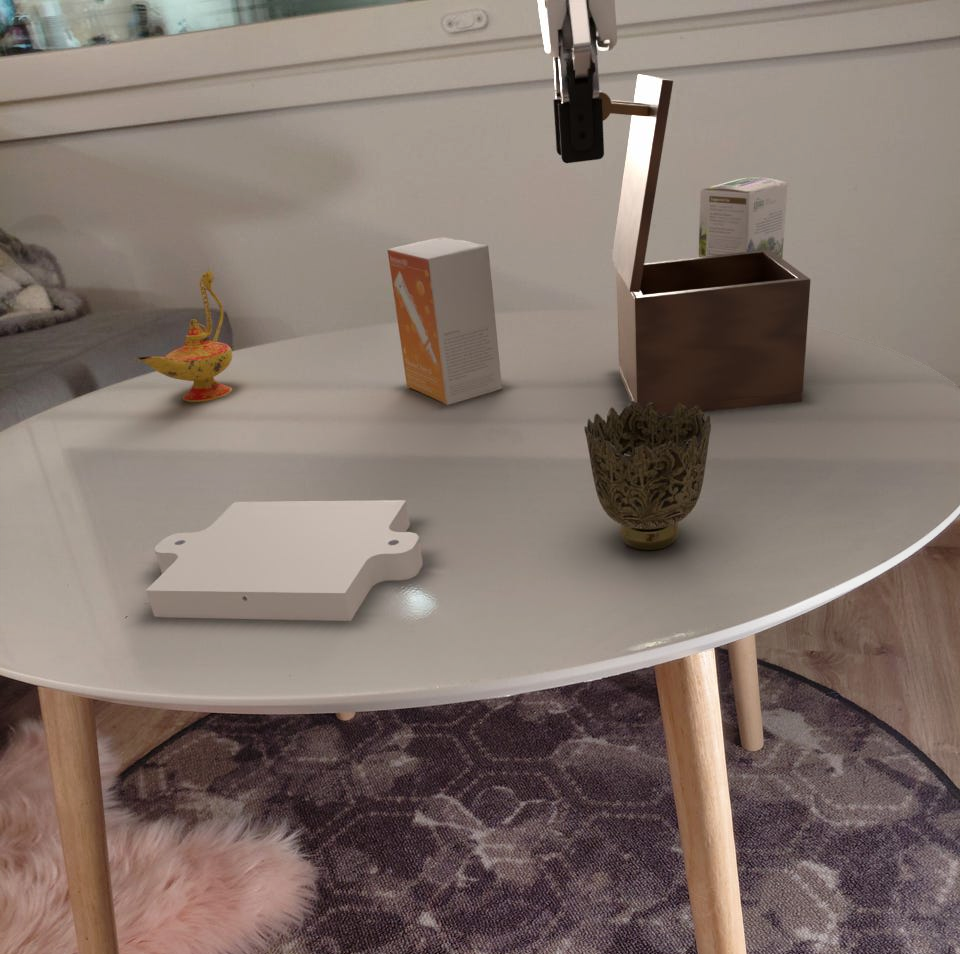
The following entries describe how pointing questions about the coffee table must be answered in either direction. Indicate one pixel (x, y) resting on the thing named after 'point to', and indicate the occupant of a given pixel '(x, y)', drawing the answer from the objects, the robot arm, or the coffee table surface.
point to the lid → (639, 172)
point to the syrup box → (742, 217)
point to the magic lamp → (198, 356)
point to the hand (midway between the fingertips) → (579, 154)
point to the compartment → (714, 332)
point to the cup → (648, 469)
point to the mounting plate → (285, 561)
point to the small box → (446, 318)
